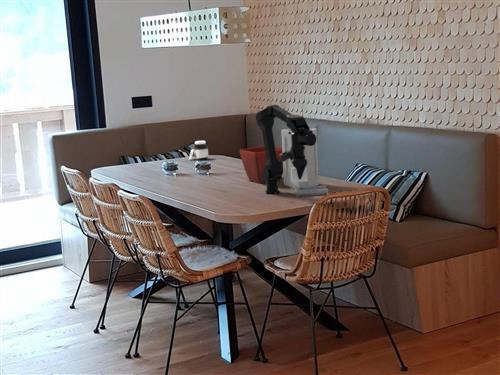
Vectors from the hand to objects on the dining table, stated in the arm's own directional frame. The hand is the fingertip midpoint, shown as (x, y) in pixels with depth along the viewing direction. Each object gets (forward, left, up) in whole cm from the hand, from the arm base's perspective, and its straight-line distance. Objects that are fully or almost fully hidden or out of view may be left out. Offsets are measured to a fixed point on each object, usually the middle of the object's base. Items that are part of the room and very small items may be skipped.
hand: (299, 178), depth 354 cm
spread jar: (-143, -52, -10) cm, 152 cm away
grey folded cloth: (-11, +6, -10) cm, 16 cm away
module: (0, 0, -1) cm, 1 cm away
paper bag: (-32, +5, -10) cm, 34 cm away
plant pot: (-53, -14, -10) cm, 55 cm away
